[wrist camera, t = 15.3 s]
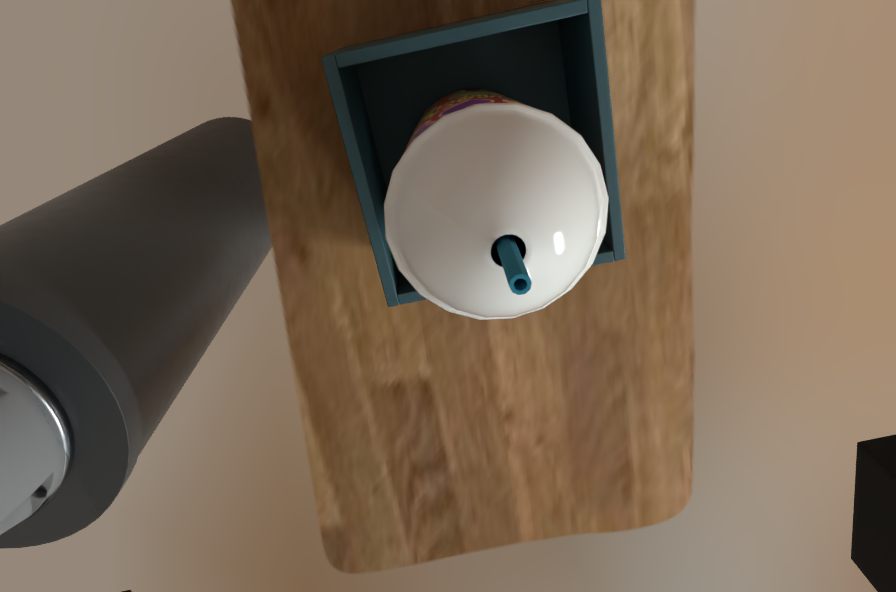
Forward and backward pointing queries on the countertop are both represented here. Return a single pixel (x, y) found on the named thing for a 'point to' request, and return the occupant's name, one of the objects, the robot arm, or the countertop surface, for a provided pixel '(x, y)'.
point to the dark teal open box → (469, 67)
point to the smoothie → (494, 206)
